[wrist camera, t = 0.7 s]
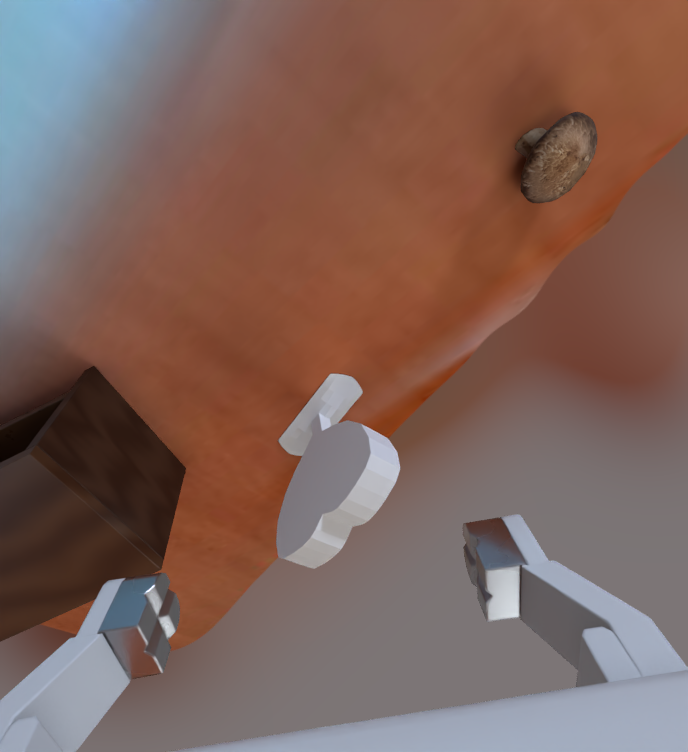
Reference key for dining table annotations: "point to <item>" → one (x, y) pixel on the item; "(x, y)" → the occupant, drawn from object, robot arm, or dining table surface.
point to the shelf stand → (79, 502)
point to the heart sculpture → (331, 475)
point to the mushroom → (556, 157)
